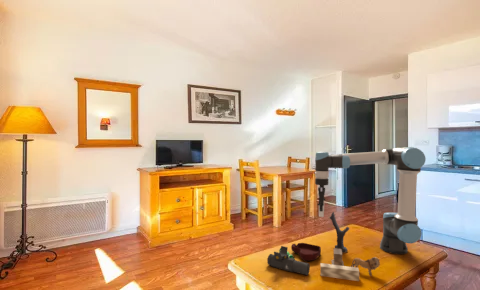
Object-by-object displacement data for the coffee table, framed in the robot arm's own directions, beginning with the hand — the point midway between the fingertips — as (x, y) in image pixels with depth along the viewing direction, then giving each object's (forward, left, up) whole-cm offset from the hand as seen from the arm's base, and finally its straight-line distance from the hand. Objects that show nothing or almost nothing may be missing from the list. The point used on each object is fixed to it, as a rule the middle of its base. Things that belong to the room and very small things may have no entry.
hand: (321, 213), depth 159 cm
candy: (+20, +7, -26) cm, 33 cm away
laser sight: (+17, +23, -26) cm, 39 cm away
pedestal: (-9, +11, -25) cm, 29 cm away
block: (-9, +23, -25) cm, 35 cm away
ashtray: (+7, +2, -26) cm, 27 cm away
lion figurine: (-22, +15, -25) cm, 36 cm away
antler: (-11, -10, -25) cm, 29 cm away
